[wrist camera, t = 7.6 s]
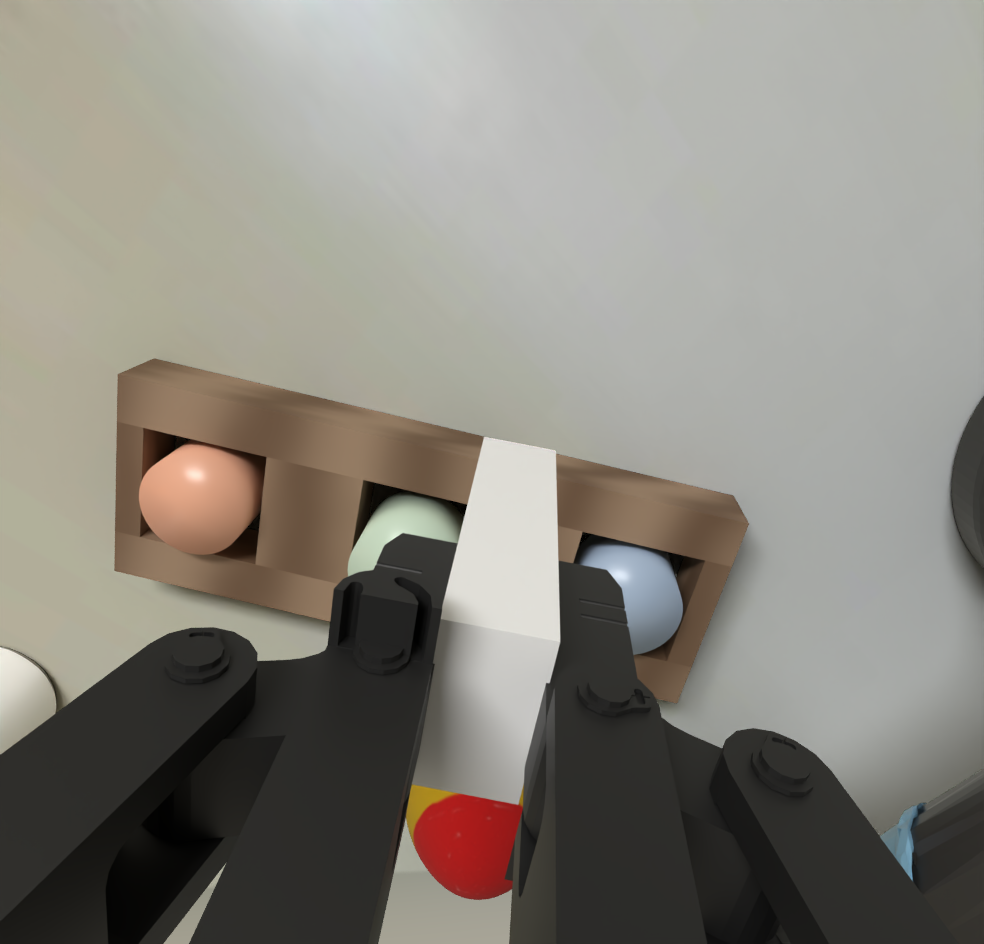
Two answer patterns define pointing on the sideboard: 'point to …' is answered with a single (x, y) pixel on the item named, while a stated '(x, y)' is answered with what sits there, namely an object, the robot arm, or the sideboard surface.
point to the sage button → (404, 525)
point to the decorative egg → (464, 839)
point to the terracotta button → (202, 496)
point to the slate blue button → (639, 587)
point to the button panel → (348, 492)
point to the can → (22, 697)
